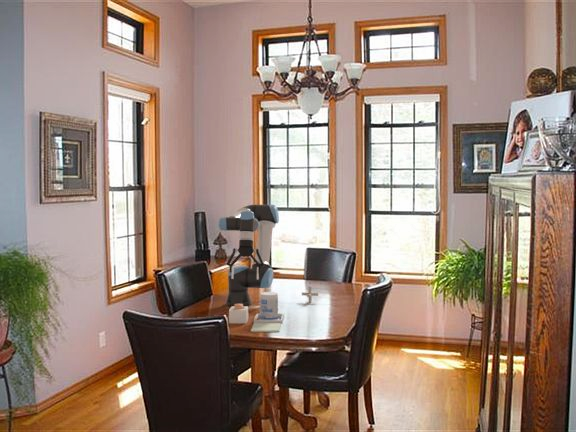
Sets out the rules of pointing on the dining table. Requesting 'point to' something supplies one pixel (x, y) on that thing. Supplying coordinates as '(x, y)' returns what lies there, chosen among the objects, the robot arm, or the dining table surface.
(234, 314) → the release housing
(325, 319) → the dining table surface
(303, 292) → the pipe connector
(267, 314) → the supplement tub
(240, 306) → the button
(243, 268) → the robot arm
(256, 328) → the mat
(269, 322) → the frame
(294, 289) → the dining table surface
